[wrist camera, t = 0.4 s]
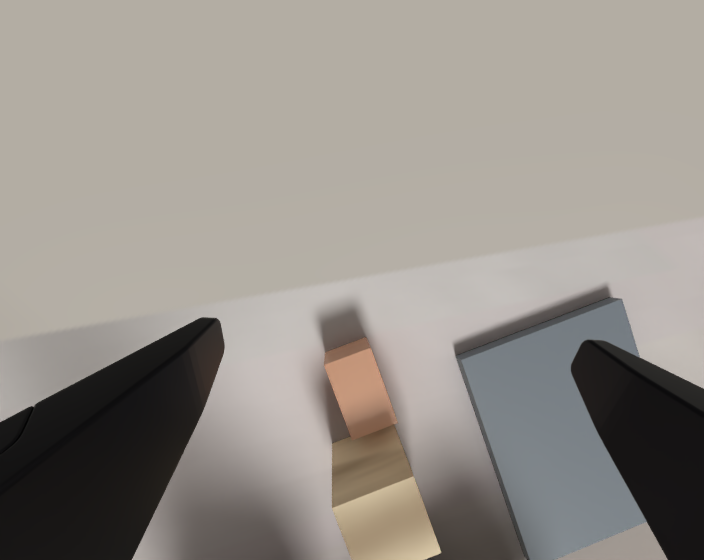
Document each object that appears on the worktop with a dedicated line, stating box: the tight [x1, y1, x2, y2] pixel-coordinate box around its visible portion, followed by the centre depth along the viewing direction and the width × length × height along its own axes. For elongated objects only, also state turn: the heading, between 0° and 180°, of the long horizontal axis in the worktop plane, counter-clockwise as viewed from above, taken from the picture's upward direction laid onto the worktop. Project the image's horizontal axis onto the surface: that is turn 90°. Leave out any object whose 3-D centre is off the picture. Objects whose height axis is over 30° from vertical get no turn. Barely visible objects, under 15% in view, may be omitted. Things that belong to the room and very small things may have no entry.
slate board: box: [456, 298, 647, 560], centre depth 23 cm, size 16×12×1 cm
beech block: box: [332, 425, 441, 560], centre depth 20 cm, size 4×4×6 cm
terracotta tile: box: [324, 337, 398, 440], centre depth 21 cm, size 5×3×3 cm, turn 20°
